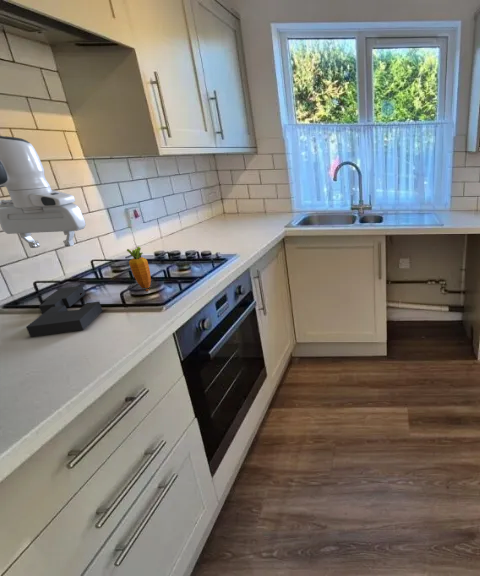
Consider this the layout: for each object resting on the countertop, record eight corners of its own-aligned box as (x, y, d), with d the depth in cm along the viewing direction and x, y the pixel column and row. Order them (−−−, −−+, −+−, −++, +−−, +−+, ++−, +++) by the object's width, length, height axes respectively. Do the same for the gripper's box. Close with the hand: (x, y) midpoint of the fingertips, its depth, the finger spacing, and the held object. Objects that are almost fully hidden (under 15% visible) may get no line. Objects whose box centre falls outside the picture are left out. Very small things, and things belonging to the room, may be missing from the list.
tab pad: (38, 316, 103) (33, 306, 102) (63, 296, 115) (60, 288, 114) (62, 313, 104) (59, 303, 103) (85, 294, 117) (82, 285, 116)
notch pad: (30, 337, 92) (25, 326, 90) (55, 316, 102) (51, 306, 101) (83, 330, 94) (79, 320, 93) (102, 310, 105) (99, 301, 104)
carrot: (134, 293, 116) (120, 248, 110) (148, 287, 121) (135, 244, 115) (146, 295, 115) (132, 250, 109) (159, 289, 119) (146, 245, 113)
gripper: (-18, 202, 97) (5, 251, 102) (64, 199, 98) (82, 247, 104) (3, 198, 102) (23, 245, 108) (79, 195, 104) (95, 242, 110)
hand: (52, 246), depth 106 cm, fingers open, 8 cm apart
